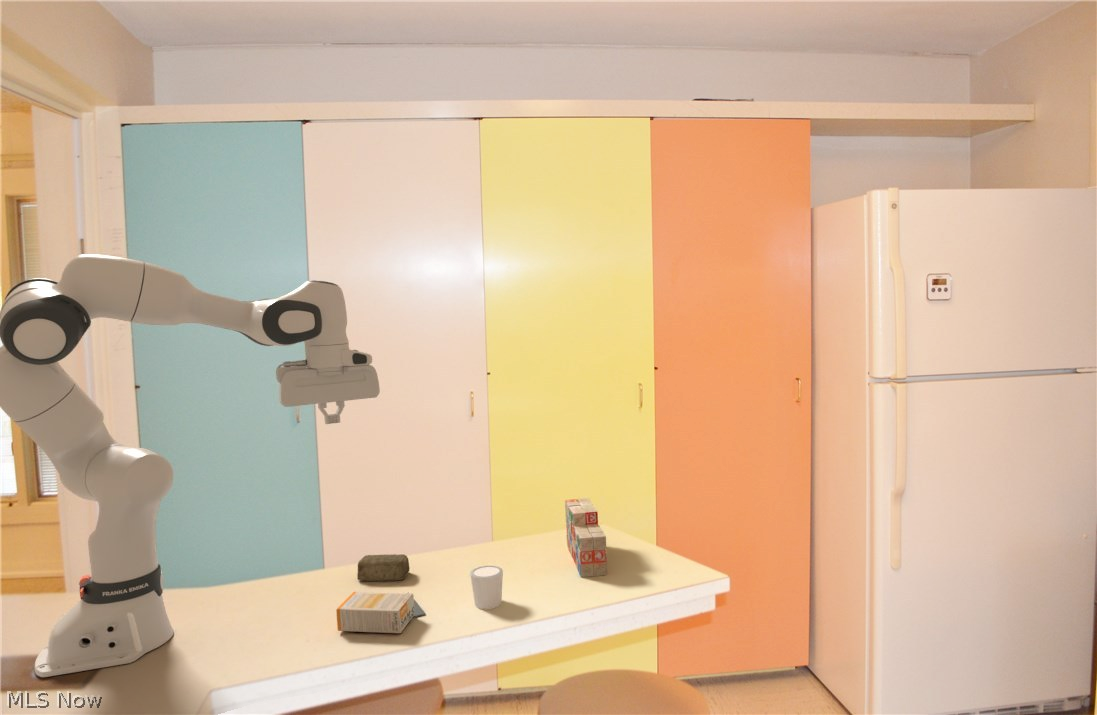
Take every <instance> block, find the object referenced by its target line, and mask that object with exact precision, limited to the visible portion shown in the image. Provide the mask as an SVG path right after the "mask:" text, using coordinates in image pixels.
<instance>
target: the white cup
mask: <svg viewBox="0 0 1097 715" xmlns="http://www.w3.org/2000/svg"><path fill="white" fill-rule="evenodd" d="M503 571H504V570H503V568H501V567H499V566H496V565H482V566H478V567H475V568H474V569H472V570H471V571H470V572H469V575H470V582H471V588H472V594H473V595H472V596H473V601H474V606H475V608H477V609H480V610H491V609H492V608H493V609H495V607H496V608H497V607H500V606H501V605H502V599H503V576H504V572H503ZM493 609H492V610H493Z"/></svg>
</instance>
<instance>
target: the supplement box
mask: <svg viewBox="0 0 1097 715" xmlns="http://www.w3.org/2000/svg"><path fill="white" fill-rule="evenodd" d="M414 600H415V598H414V593H412V592H411V593H410V592H406V593H405V592H372V591H371V592H370V591H368V592H367V591H366V592H365V591H354V592H352V593H351V594H350V595H349V596H348V597H347V598H346V599H345V600H344V601H343V602H342V603H341V604H340V605H339V606H338V607H337V608H336V624H337V631H339V632H356V633H359V632H360V633H363V632H364V633H381V634H382V633H384V634H385V633H387V634H388V633H389V634H390V633H391V634H401V633H402V632H403V630H404V629H405V628H406V627H407V626H408V624H409V623H410V621H411V620H412V619H413V618H412V617H413V616H414V615H415V609H414Z"/></svg>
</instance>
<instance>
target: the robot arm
mask: <svg viewBox="0 0 1097 715" xmlns="http://www.w3.org/2000/svg"><path fill="white" fill-rule="evenodd" d="M98 318H99V319H100V318H106V319H107V318H108V319H113V320H120V321H124V322H130V323H135V324H143V325H149V326H178V325H181V324H182V325H183V324H201V325H204V326H210V327H215V328H221V329H225V330H230V331H233V332H238V333H240V334H241V335H243V336H245V337H246V338H248V339H249V340H250V341H252V342H254V343H255V344H257V345H260V346H264V347H271V346H272V347H273V346H279V347H289V346H293V345H296V344H299V343H302V342H303V343H304V351H305V352H304V353H305V359H300V360H299V359H298V360H294V361H290V360H289V361H287V360H285V361H283V362H282V363H281V364H279V365H278V366H277V367H276V370H275V374H276V375H275V376H276V377H275V378H276V380H277V382H278V384H279V391H278V392H279V394H278V395H279V397H278V400H279V403H280V405H281V406H283V407H285V408H291V407H299V406H308V405H309V406H310V405H317V407H318V409H319V411H320V412H321V413H322V415H323V416H324V424H325V425H331V424H340V423H341V414H342V412H343V411H344V409H345V406H346V405H345V402H346V401H357V400H365V399H375V398H377V397H378V396H379V395H380V392H381V391H380V390H381V389H380V383H379V377H378V373H377V370H376V368H375V367H374V366H373V365H371V364H372V363H373V356H372V354H369V353H367V352H364V351H363V352H362V351H359V350H357V349H350V344H349V342H350V341H349V338H348V336H347V326H348V315H347V307H346V300H345V295H344V292H343V289H342V288H341V287H340V286H339V285H338V284H336V283H334V282H329V281H324V280H315V279H314V280H306V281H305V282H303V283H302V284H301V285H300V286H299V287H297V288H296V289H294V290H292V291H290V292H289V293H286V294H284V295H281V296H279V297H277V298H261V299H256V300H251V301H245V300H244V301H243V300H239V299H234V298H231V297H227V296H226V297H225V296H222V295H217V294H212V293H209V292H206V291H203V290H201V289H199V288H197V287H196V286H195V285H193V284H192V283H191V281H189V279H187V277H186V276H184V274H181V273H179V272H177V271H174V270H171V269H170V268H166V267H164V266H161V265H158V264H154V263H152V262H147V261H143V260H142V261H141V260H137V259H131V258H127V257H122V256H121V257H120V256H113V255H104V254H88V253H84V254H79V255H77V256H75V257H73V258H72V259H71V260H70V261H69V262H68V263H67V264H66V265H65V267H64V269H63V271H62V274H61V278H60V279H59V281H56V280H53V279H49V278H45V277H36V278H35V277H34V278H29V279H26V280H23V281H20V282H19V283H17V284H16V285H15V286H13V287H12V288H11V289H10V290H9V291H8V292H7V294H6V296H5V298H4V301H3V303H2V305H1V309H0V341H1V344H2V346H0V408H1V410H2V411H3V412H4V413H5V414H6V415H7V416H8V417H9V418H10V419H11V420H12V421H13V423H15V424H16V425H17V426H18V427H19V428H20V429H21V430H22V431H23V432H24V433H25V434H26V436H28V437H29V438H30V439H31V440H32V441H33V442H34V443H35V444H36V445H37V446H38V447H39V448H40V449H41V451H43V452H44V454H45V455H46V456H47V457H48V459H49V460H50V462H51V464H53V467H54V469H56V471H57V473H58V474H59V480H60V482H61V484H62V485H63V487H64V488H66V490H68V491H69V492H70V493H72V494H74V495H75V496H77V497H79V498H81V499H83V500H89V501H94V502H97V503H98V508H99V509H98V516H97V522H96V526H95V528H94V530H93V531H92V532H91V534H90V535H89V537H88V540H87V541H88V542H87V545H88V546H87V547H88V556H89V565H90V566H89V568H90V574H84V575H82V577H81V578H80V580H79V582H78V585H79V596H80V597H79V598H80V600H79V601H78V602H77V603H76V604H75V605H73V606H72V607H71V608H70V609H69V610H68V611H67V612H66V613H65V614H63V615H62V616H61V617H60V618H59V619H58V620H57V621H56V622H55V624H54V625H53V627H52V628H51V631H50V635H49V636H48V637H49V638H48V644H47V645H46V646H45V647H44V648H43V649H42V650H41V651H40V652H39V653H38V655H37V657H36V658H35V662H34V673H35V675H36V676H38V677H40V678H48V677H53V676H60V675H67V674H72V673H78V672H83V671H89V670H96V669H102V668H108V667H114V666H119V665H120V666H121V665H125V664H130V663H133V662H135V661H137V660H138V659H140V658H141V657H143V655H145V654H146V653H148V652H151V651H153V650H155V649H157V648H159V647H160V646H163V644H165V643H167V642H168V641H169V640H170V639H171V638H172V636H174V632H175V631H174V628H173V626H172V624H171V621H170V619H169V616H168V614H167V613H168V612H167V610H166V607H165V603H164V598H163V591H164V582H163V580H164V579H163V572H162V569H161V564H159V563H158V562H159V561H158V551H157V550H158V549H157V537H156V536H157V535H156V523H157V517H158V511H159V508H160V504H161V502H162V500H163V499H164V498H165V497H166V495H167V494H168V493H169V491H170V489H171V487H172V485H173V481H174V470H173V468H172V467H173V466H172V465H171V463H170V462H169V461H168V459H166V458H165V457H164V456H162V455H160V454H159V453H156V452H155V451H152V450H150V449H148V448H143V447H136V446H127V445H124V444H122V443H120V442H118V441H117V440H115V439H114V438H113V436H112V435H111V434H110V432H109V430H108V428H107V427H106V424H105V422H104V412H103V411H102V409H100V407H99V406H98V405H97V404H96V403H95V401H93V399H92V398H90V397H89V395H88V394H87V393H86V392H85V391H84V389H82V388H81V386H80V385H78V383H77V382H76V381H75V380H74V379H73V378H72V377H71V376H70V375H69V374H68V373H67V371H66V370H65V369H64V368H63V367H62V365H61V364H60V363H59V361H61V360H63V359H65V358H66V357H67V356H69V354H71V353H72V352H73V351H74V349H76V347H77V346H78V345H79V344H80V343H79V342H81V339H83V336H84V335H85V333H86V332H87V331H88V329H89V328H90V327H91V324H92V320H94V319H98ZM328 403H335V405H336V406H337V408H336V411H335V413H332V414H328V412H327V410H325V409H327V408H328V406H327V404H328Z"/></svg>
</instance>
